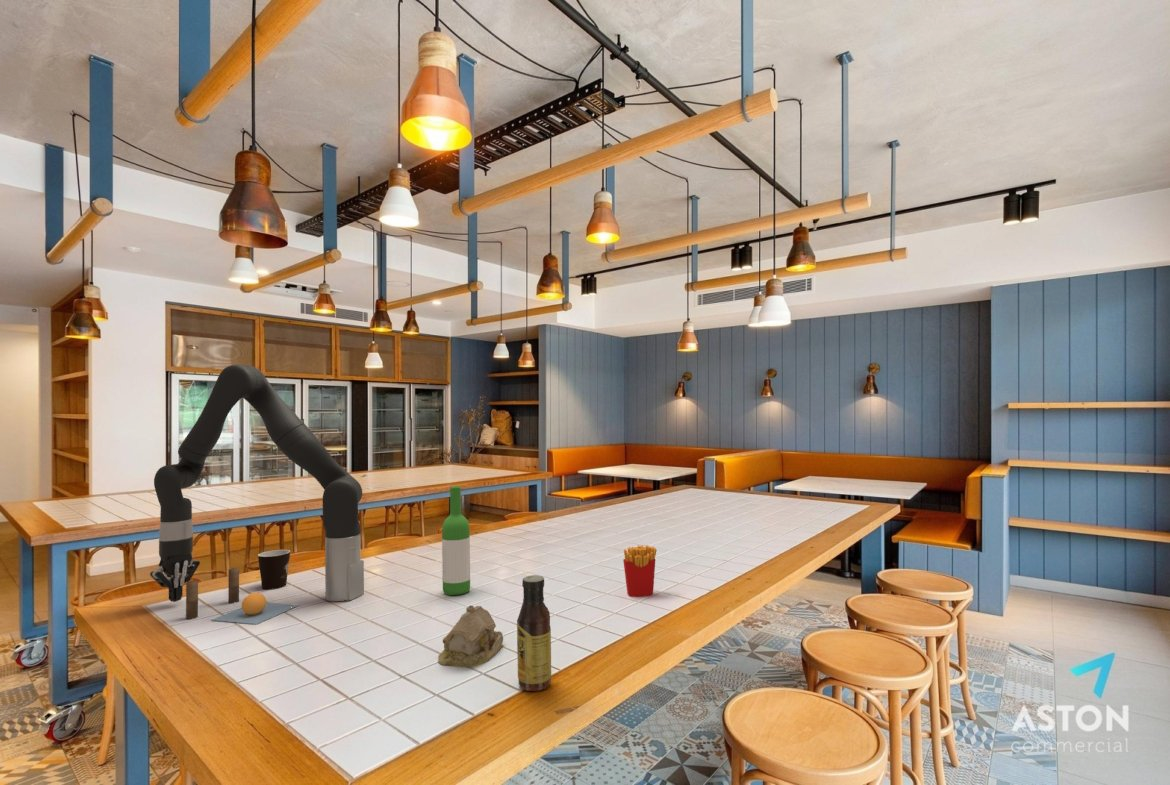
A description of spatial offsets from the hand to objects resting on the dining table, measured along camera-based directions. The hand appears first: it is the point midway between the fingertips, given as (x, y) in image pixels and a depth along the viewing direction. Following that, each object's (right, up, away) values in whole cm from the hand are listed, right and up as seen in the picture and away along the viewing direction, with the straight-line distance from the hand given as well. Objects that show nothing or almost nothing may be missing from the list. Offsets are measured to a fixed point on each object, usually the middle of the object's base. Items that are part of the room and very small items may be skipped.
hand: (175, 600), depth 154 cm
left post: (+11, -1, -9) cm, 15 cm away
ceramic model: (+88, +1, -35) cm, 95 cm away
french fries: (+128, +1, +2) cm, 128 cm away
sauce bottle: (+103, +2, -50) cm, 114 cm away
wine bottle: (+75, 0, +7) cm, 76 cm away
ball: (+26, +2, -8) cm, 27 cm away
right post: (+14, -1, +3) cm, 15 cm away
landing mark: (+26, -1, -7) cm, 27 cm away
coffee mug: (+18, -2, +18) cm, 26 cm away
